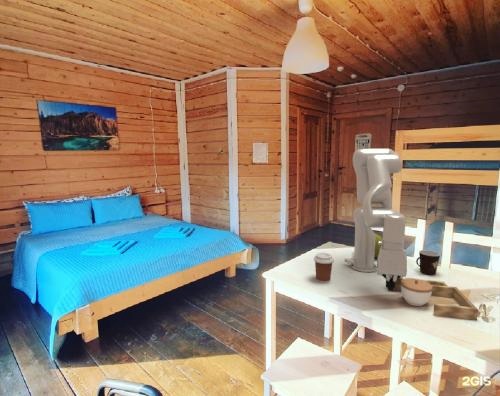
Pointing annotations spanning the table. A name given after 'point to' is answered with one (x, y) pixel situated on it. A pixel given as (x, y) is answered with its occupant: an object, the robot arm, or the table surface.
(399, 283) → the walnut block
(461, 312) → the holder
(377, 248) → the fruit
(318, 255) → the coffee cup
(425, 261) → the coffee mug
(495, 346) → the table surface
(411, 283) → the lidded jar
